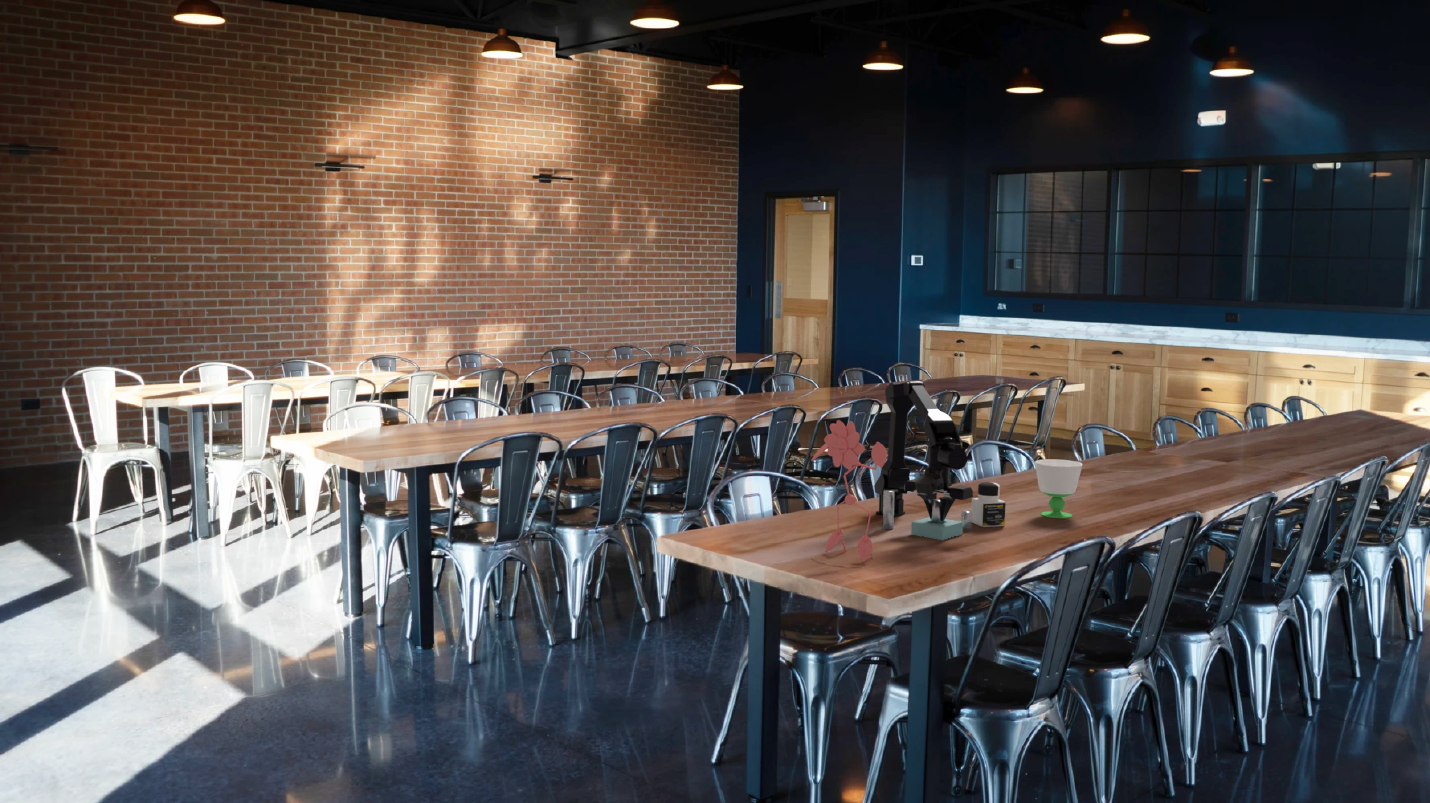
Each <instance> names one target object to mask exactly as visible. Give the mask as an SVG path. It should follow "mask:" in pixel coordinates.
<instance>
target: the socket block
mask: <svg viewBox="0 0 1430 803" xmlns="http://www.w3.org/2000/svg"><path fill="white" fill-rule="evenodd" d="M910 526H911V528H910V530H911V531H910V532H911V533H910V534H911V535H912V536H913V535H914V536H918V537H922V536H924V538H928V539H934V540H939V541H945V540H948V538H949V539H952V538H955V537H954V536H956V537H958V536H962V535H963V531H964V530H963V522H961V520H960V521H959V520H954V519H953V520H952V519H948V518H945V520H944V521H943V524H935V523H932V519H930V516H928V517H925V518H922V519H917V520H913V521H911V525H910ZM951 537H952V538H951Z"/></svg>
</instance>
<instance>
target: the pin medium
mask: <svg viewBox="0 0 1430 803" xmlns="http://www.w3.org/2000/svg"><path fill="white" fill-rule="evenodd" d="M932 523H935V524H943V521H941V501H940V499H939V498H936V499H934V500H932Z"/></svg>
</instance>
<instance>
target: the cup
mask: <svg viewBox="0 0 1430 803" xmlns="http://www.w3.org/2000/svg"><path fill="white" fill-rule="evenodd" d="M1034 467H1035V472H1036V473H1035V474H1036V478H1037V483H1038V484H1037V485H1038V489H1039V490H1040V492H1042V493H1043V494H1044V495H1046V496H1049V497H1051V498H1050V499H1049V501H1048V506H1049V508H1050V511H1043V512H1041V513H1040V515H1041V516H1042V517H1045V518H1051V519H1052V518H1053V519H1070V518H1072V517H1073V514H1072V513H1068V512H1064V511H1063V509H1064V508H1065V505H1066V504H1065V500H1064V498H1066V497H1069V496H1072V495H1073V494H1075V492H1076V490H1077V487H1078V484H1079V481H1080V477H1081V472H1082V468H1083V463H1082V462H1079V461H1075V460H1068V459H1059V458H1056V459H1054V458H1053V459H1052V458H1051V459H1049V458H1047V459H1046V458H1045V459H1037V460H1036V461H1034ZM1051 510H1052V511H1051Z"/></svg>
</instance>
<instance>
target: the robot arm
mask: <svg viewBox="0 0 1430 803" xmlns="http://www.w3.org/2000/svg"><path fill="white" fill-rule="evenodd" d="M884 390H885V391H884V394H885V403H886V405H887V407H888V409H889V410H890V418H889V420H890V421H889V433H888V434H889V435H888V436H889V437H888V448H887V460H886V462H885V463H884V465H883V467H882V468H880V475H879V477H878V479H877V480H876V482H875V483H874V484H873V485H874V486H873V487H874V492H875V494H878V495H879V496H878V499H879V500H878V502H879V503H878V510H877V511H875V513H876V514H877V515H883V495H884V491H885V490H891V491H894V517H896V516H900V515H904V514H906V511H904V504H905V503H904V502H905V501H904V498H903V496H904V495H903V494H905V495H906V494H908V492H909V493H914V492H915V491H916V493H917V494H916V495H917V497H920V498H921V499H922V500H923V501H924V504H925V508H926V510H927V514H928V517H930V519H932V500H934V499H940V501H941V521H944V520H945V519H947V518H946V517H947V516H948V514H949V511H950V510H951V508H952V506H953V504H954V503H955V501H956V500H960V501H961V500H962V501H963V500H967V499H972V498H974V490H973V489H972V487H970V486H965V485H956V486H953V487H952V483H953V482H951V481H950V472H953V470H954V471H955V470H956V471H961V470H962V469H964V468H965V466H966V465H967V463H968V455H967V453H966V451H965V450H964V449H962V444H961V442H962V441H961V437H960V434H959V432H958V430H957V427H956V424H955V422H954V420H953V419H952V418H951V416H950V415H948V414H947V413H945V412H944V411H940V409H939V408H938V406H937V405H936V403H935V402H934V401H933V398H932V397H931V396H930V394H929V393H928V391H927V390H926V387H925V383H924V382H923V381H921V380H909V381H907V382H890V383H889V384H888V385H887V386H886V388H885V389H884ZM913 407H915V408H916V410H917V412H918V413H919V415H920V417H921V418H922V420H923V426H922V428H923V430H924V433H925V436H926V437H927V438H928V440H927V441H926V443H925V445H926V446H928V463H927V465H928V466H927V467H925V470H924V474H923V475H921V476H920V477H918V478H913V479H911V478H910V474H911V469H910V468H909V467H908V466H907V464H906V463H905V452H906V444H907V443H906V442H907V441H906V440H907V430H908V429H907V426H908V414H909V413H910V411H911V409H913ZM938 493H939V494H943V496H941V497H939V498H937V495H938Z"/></svg>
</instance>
